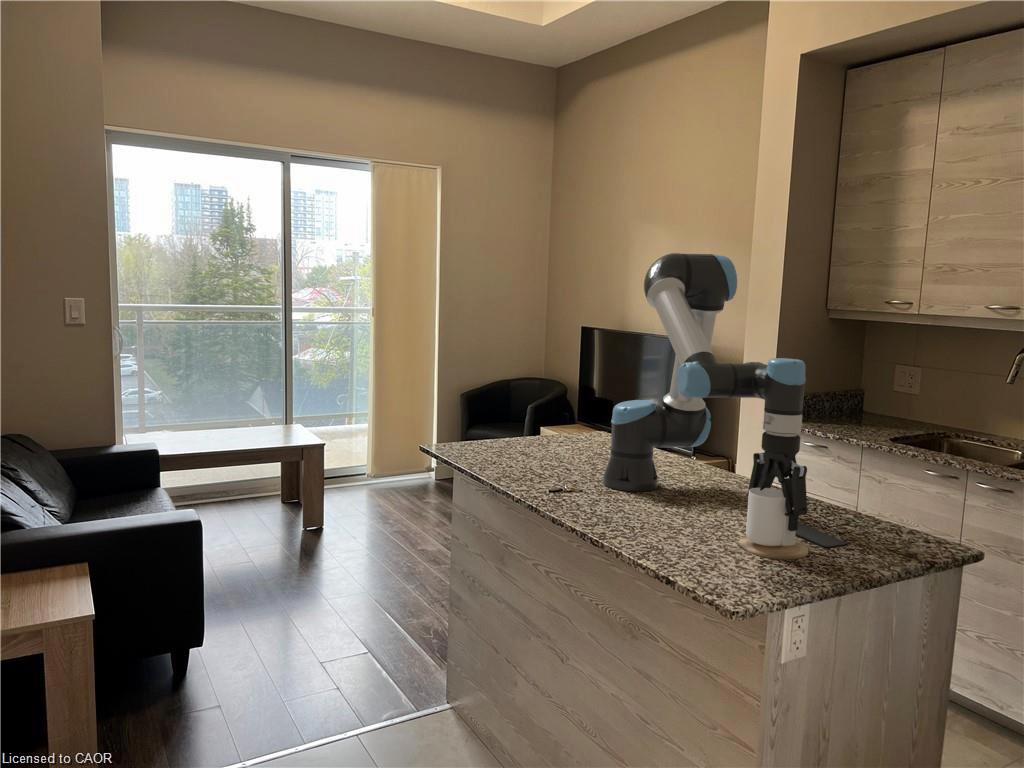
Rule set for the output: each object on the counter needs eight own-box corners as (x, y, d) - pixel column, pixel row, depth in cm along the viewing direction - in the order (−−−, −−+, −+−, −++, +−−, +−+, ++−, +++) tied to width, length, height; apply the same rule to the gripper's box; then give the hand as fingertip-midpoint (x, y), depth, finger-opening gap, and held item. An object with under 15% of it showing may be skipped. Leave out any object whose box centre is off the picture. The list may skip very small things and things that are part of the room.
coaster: (725, 540, 161) (725, 537, 161) (777, 534, 166) (777, 531, 166) (768, 562, 148) (768, 559, 148) (823, 555, 153) (823, 552, 153)
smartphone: (825, 547, 157) (775, 524, 171) (825, 551, 158) (774, 528, 171) (851, 543, 160) (799, 521, 174) (850, 547, 161) (798, 525, 174)
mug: (778, 529, 164) (781, 484, 162) (808, 541, 156) (812, 494, 155) (737, 536, 158) (740, 489, 157) (766, 549, 151) (769, 500, 150)
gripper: (734, 424, 163) (728, 524, 165) (803, 443, 143) (794, 556, 146) (762, 423, 165) (755, 521, 168) (833, 442, 146) (824, 552, 149)
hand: (773, 537), depth 157 cm, fingers closed on mug, 8 cm apart
